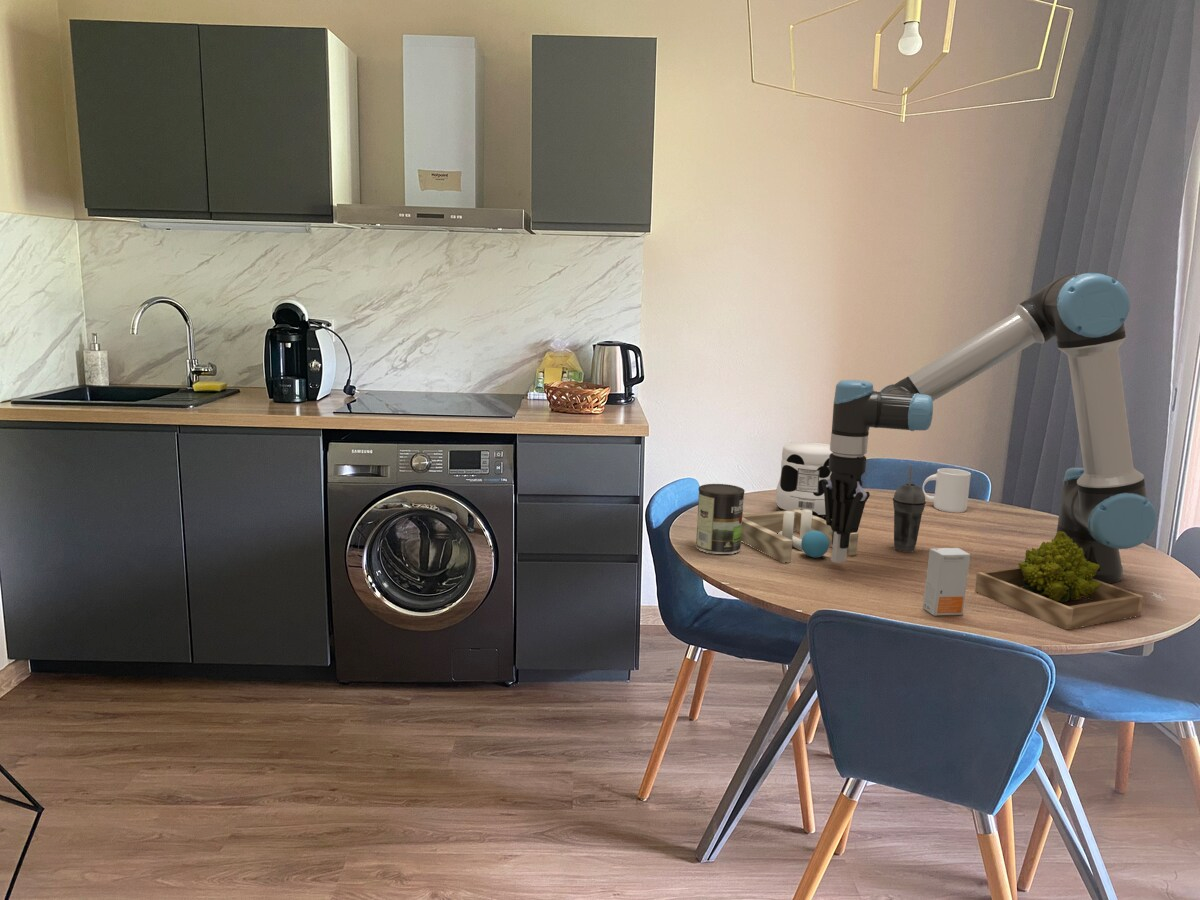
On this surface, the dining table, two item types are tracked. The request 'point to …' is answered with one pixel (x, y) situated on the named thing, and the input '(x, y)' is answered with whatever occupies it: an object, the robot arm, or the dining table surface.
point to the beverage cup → (907, 515)
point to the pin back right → (805, 522)
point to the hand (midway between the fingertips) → (838, 561)
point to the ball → (815, 544)
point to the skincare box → (946, 581)
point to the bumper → (764, 535)
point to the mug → (950, 489)
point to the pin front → (795, 542)
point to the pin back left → (788, 524)
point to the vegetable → (1059, 570)
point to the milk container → (803, 477)
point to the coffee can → (719, 518)
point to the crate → (1106, 608)
